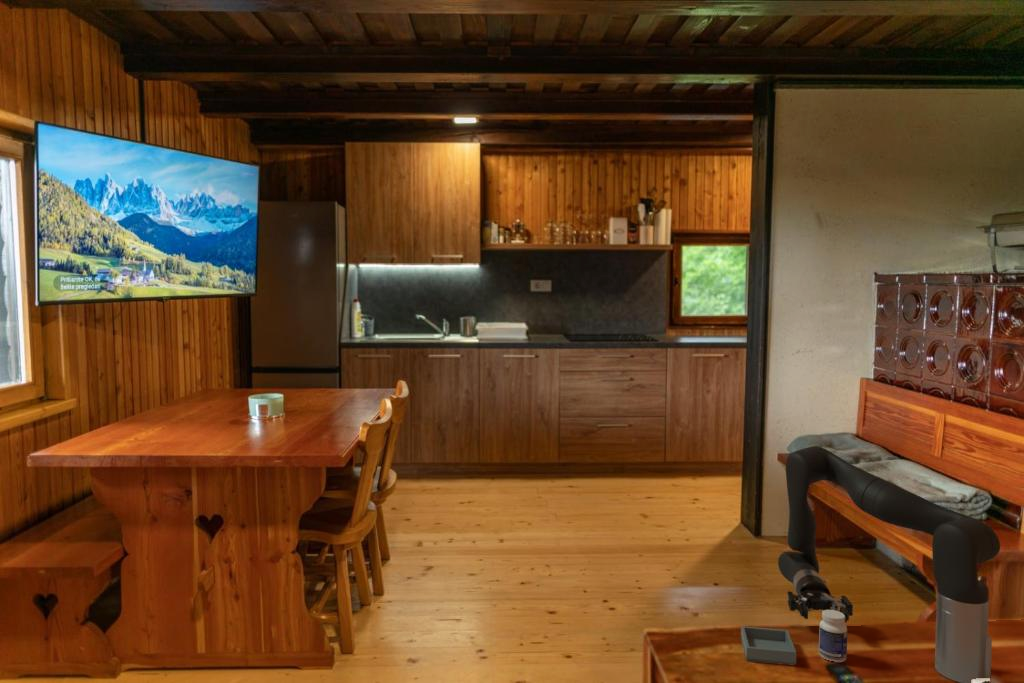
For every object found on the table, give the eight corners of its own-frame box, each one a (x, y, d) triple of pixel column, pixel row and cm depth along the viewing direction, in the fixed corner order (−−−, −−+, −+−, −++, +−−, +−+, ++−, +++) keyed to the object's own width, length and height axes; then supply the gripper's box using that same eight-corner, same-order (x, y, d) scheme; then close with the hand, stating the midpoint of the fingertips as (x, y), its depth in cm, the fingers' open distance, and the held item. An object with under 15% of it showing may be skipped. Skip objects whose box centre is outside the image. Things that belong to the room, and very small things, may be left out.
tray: (787, 642, 160) (787, 630, 160) (796, 665, 150) (796, 652, 150) (741, 638, 162) (741, 626, 162) (746, 660, 152) (746, 647, 152)
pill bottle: (849, 664, 150) (850, 620, 150) (822, 662, 151) (823, 618, 151) (842, 651, 156) (843, 609, 155) (816, 649, 157) (816, 607, 156)
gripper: (782, 572, 177) (793, 598, 161) (841, 576, 174) (859, 603, 158) (781, 600, 178) (793, 629, 162) (840, 605, 175) (858, 635, 159)
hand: (825, 616), depth 160 cm, fingers open, 8 cm apart
